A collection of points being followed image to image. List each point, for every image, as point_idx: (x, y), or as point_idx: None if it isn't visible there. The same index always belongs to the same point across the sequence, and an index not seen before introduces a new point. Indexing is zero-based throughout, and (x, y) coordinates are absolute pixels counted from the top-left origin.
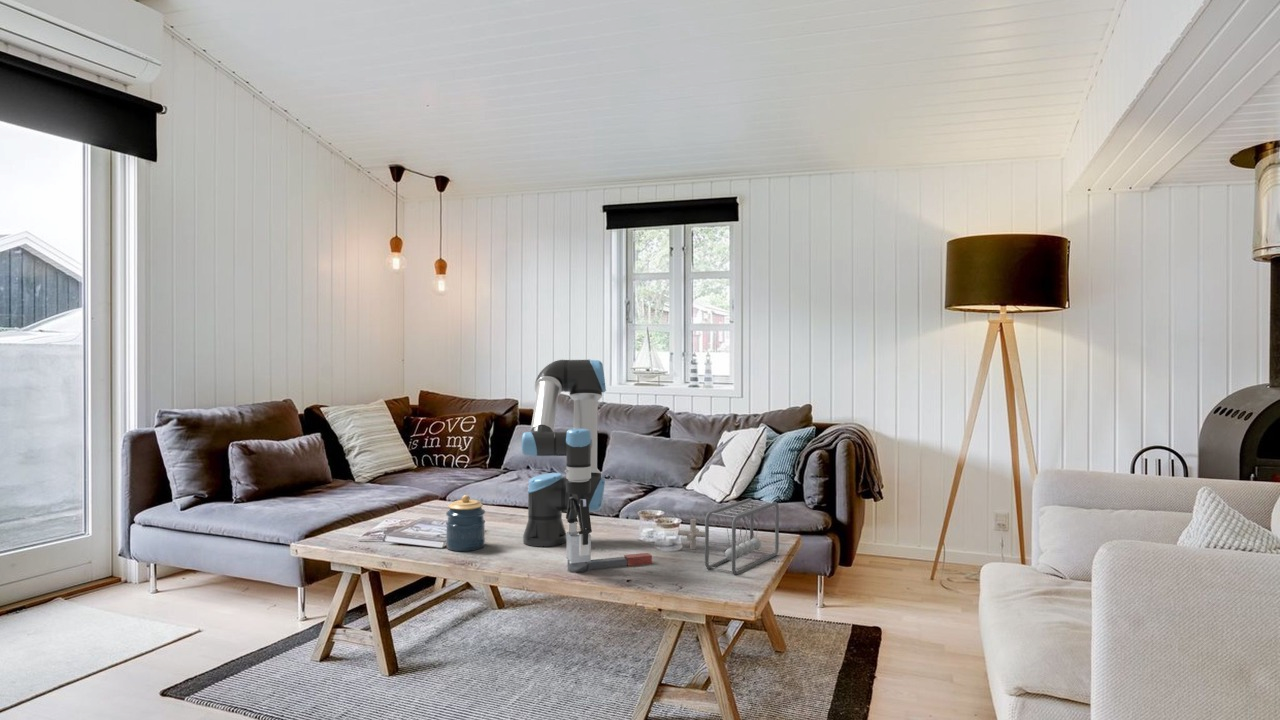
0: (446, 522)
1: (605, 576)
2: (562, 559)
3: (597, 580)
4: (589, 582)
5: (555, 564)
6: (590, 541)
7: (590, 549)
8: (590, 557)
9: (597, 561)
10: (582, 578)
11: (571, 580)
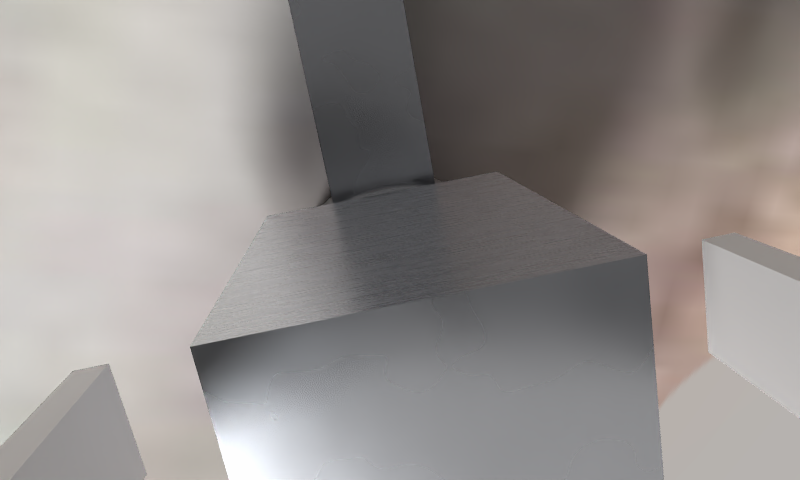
0: None
1: (659, 26)
2: (26, 401)
3: (754, 120)
4: (786, 197)
5: (200, 462)
6: (592, 227)
7: (541, 199)
8: (510, 180)
9: (398, 76)
10: (662, 249)
11: (691, 341)
